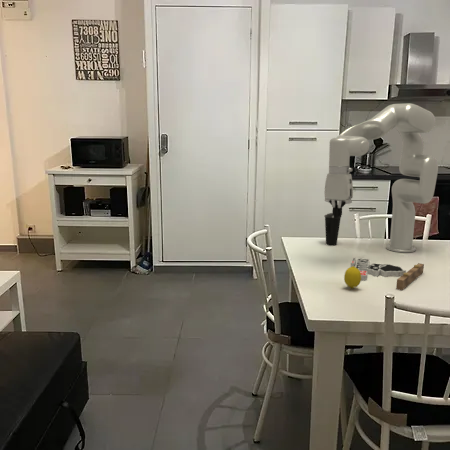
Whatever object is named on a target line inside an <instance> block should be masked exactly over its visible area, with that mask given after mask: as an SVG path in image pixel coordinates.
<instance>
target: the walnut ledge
mask: <svg viewBox="0 0 450 450" xmlns="http://www.w3.org/2000/svg"><path fill="white" fill-rule="evenodd" d="M424 268H425V264H424V263H419V262H418V263H417V264H413V267H411V268H410V269H409V270H408V271H406V273H404V274H403V275H402V276H399V277H397V279H396V288H395V289H396V290H397V291H398V290H399V291H404V290H405V289H406V288H407V287H408V286H409V285H411V284H412V283H414V281H416V279H418V278H419V277H420V276H421V275H423V274H424V270H425V269H424Z"/></svg>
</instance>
